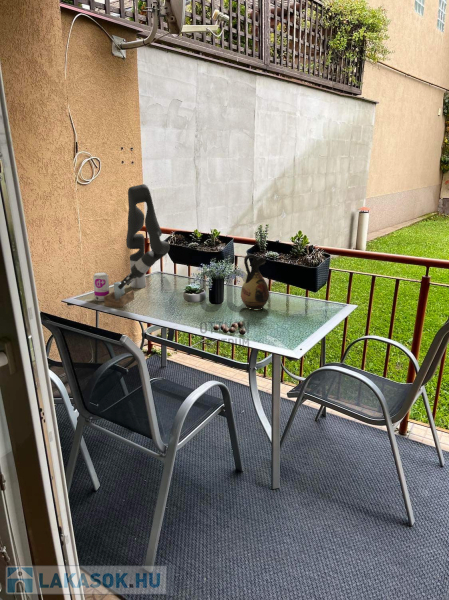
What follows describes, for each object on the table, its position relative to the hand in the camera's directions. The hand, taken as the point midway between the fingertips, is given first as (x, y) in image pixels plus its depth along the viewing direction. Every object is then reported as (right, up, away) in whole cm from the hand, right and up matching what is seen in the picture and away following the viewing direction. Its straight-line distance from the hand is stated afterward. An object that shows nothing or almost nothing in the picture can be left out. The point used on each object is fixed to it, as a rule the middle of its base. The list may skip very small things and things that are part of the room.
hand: (123, 286), depth 246 cm
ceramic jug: (+72, -12, -3) cm, 73 cm away
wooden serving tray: (-3, -9, +4) cm, 10 cm away
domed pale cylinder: (-2, -8, +3) cm, 9 cm away
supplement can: (-14, -8, +8) cm, 18 cm away
